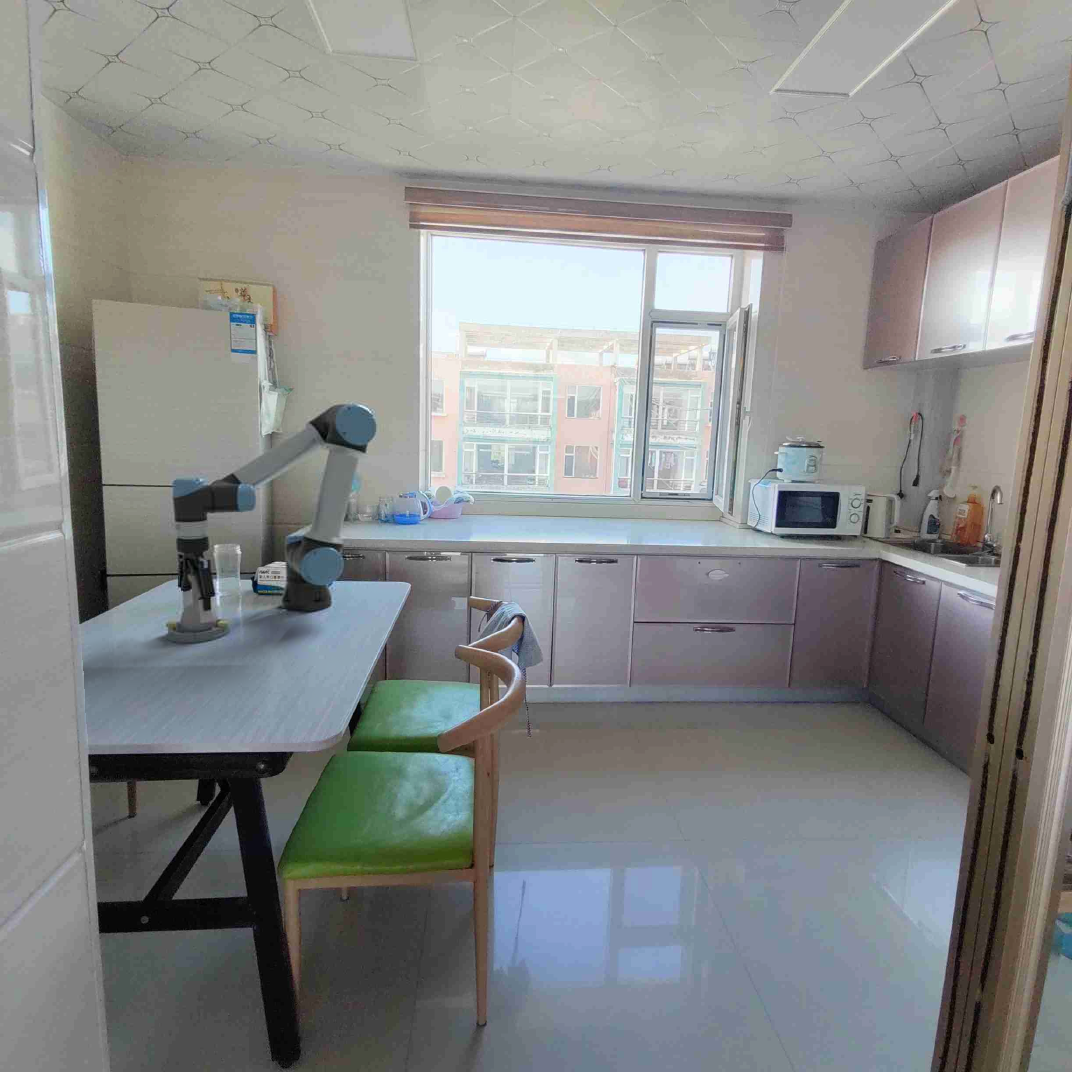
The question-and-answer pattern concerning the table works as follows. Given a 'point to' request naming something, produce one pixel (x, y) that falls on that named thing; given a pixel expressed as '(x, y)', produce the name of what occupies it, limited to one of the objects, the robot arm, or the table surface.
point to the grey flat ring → (180, 636)
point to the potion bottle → (195, 613)
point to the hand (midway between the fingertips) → (197, 617)
